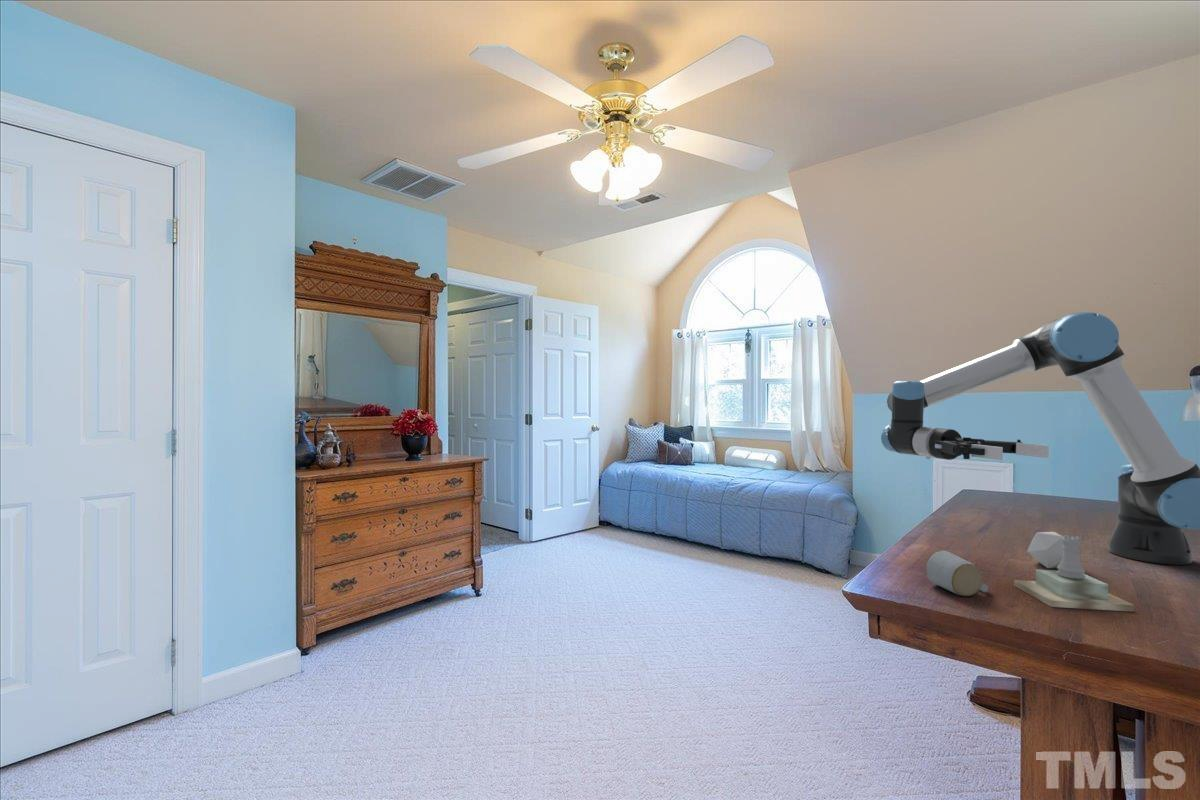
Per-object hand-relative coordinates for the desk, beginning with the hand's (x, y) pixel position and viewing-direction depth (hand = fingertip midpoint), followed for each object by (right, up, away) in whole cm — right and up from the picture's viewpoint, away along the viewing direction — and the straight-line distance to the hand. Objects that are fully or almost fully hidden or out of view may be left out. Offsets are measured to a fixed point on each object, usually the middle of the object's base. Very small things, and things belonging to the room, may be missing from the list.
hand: (1024, 452), depth 121 cm
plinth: (+2, -28, -9) cm, 29 cm away
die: (+15, -28, +12) cm, 34 cm away
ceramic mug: (-17, -28, -5) cm, 34 cm away
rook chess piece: (+2, -24, -9) cm, 26 cm away
